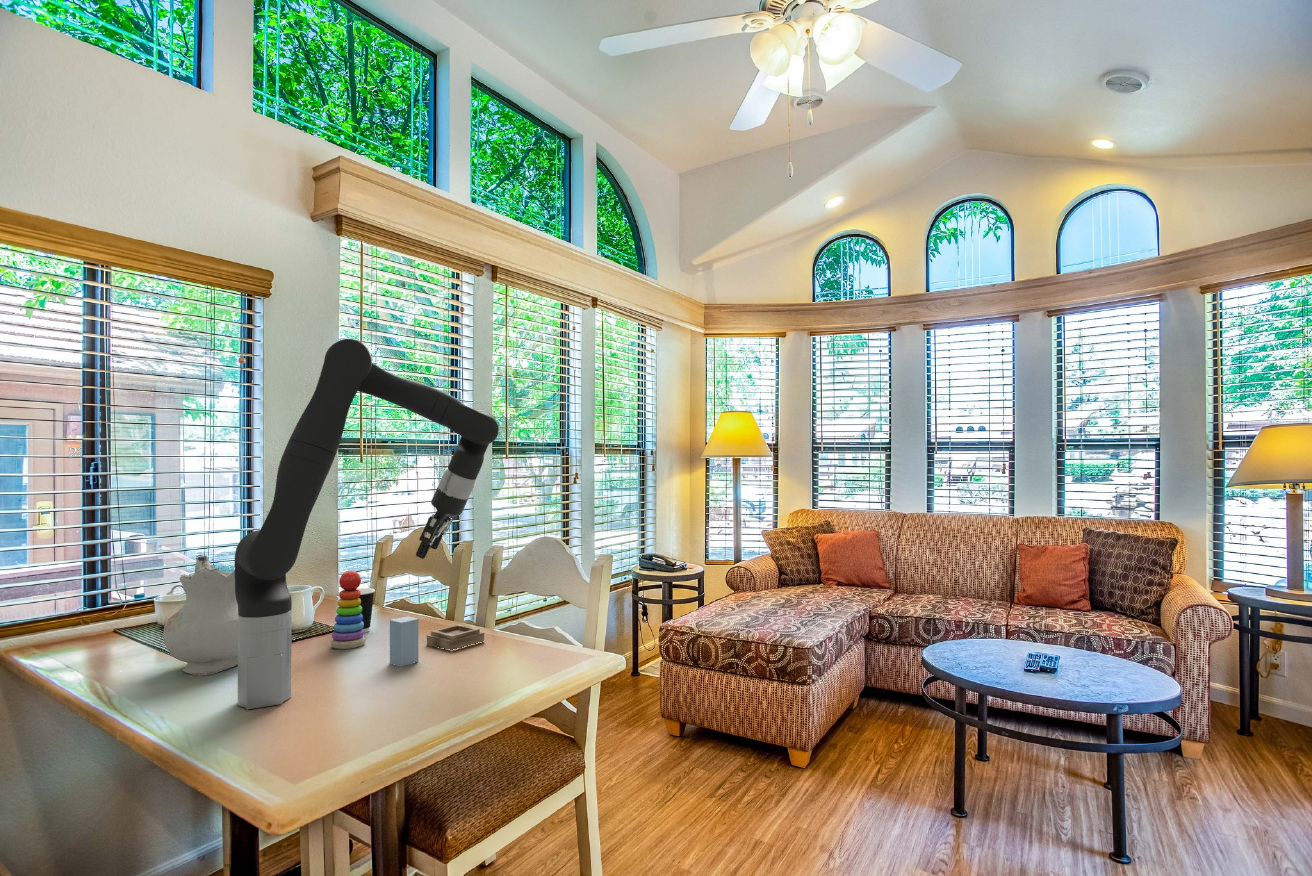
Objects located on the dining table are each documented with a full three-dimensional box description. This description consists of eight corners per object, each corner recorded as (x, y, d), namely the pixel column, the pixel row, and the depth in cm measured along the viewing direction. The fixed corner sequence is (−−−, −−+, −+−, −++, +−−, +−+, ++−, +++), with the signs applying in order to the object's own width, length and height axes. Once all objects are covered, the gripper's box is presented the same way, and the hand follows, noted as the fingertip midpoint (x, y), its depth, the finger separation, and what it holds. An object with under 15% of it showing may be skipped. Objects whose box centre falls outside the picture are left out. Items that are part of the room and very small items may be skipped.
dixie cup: (377, 626, 194) (377, 587, 194) (372, 633, 186) (373, 592, 186) (346, 628, 192) (346, 588, 192) (341, 636, 184) (341, 594, 184)
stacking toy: (356, 650, 171) (357, 574, 171) (324, 650, 171) (325, 574, 171) (370, 641, 179) (370, 568, 179) (340, 641, 179) (340, 568, 179)
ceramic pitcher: (142, 674, 156) (133, 565, 155) (229, 646, 173) (222, 547, 172) (197, 690, 146) (188, 573, 145) (284, 658, 163) (277, 553, 162)
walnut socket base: (484, 642, 177) (484, 628, 177) (451, 651, 169) (451, 637, 169) (459, 636, 183) (459, 623, 183) (426, 645, 175) (426, 631, 175)
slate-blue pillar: (418, 662, 161) (418, 618, 161) (401, 667, 157) (401, 622, 157) (406, 658, 163) (407, 616, 164) (389, 663, 160) (389, 620, 160)
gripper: (448, 479, 168) (422, 538, 170) (429, 488, 154) (400, 553, 156) (476, 492, 169) (449, 551, 170) (459, 503, 155) (430, 567, 156)
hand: (426, 552), depth 163 cm, fingers open, 8 cm apart
